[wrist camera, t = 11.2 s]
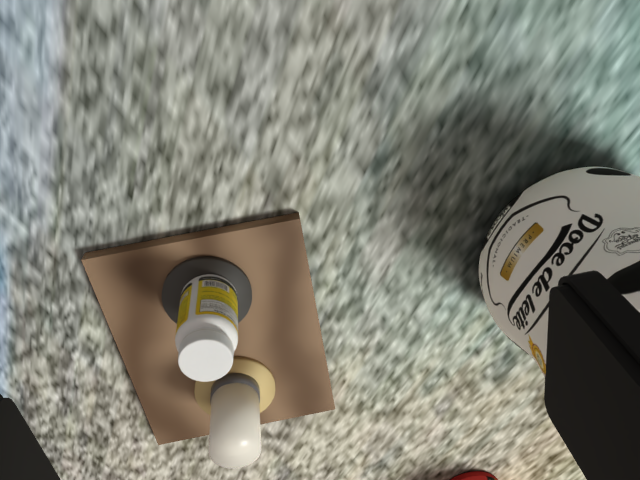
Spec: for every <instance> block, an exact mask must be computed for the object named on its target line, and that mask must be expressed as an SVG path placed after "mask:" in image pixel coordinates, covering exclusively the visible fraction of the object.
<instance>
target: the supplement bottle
mask: <svg viewBox="0 0 640 480" xmlns="http://www.w3.org/2000/svg"><path fill="white" fill-rule="evenodd" d="M175 344H176V348H177V350H178V352H179V353H178V364H179V367H180V369H181V371H182V372H183V373H184V374H185V375H186V376H187V377H189V378H191V379H193V380H196V381H202V382H208V381H214V380H217V379H219V378H221V377H223V376H224V375H226V374H227V373H228V372H229V370H230V369H231V367H232V364H233V356H234V351H235V350H236V347H237V344H238V298H237V292H236V290H235V288H234V286H233V285H232V284H231V283H230V282H229V281H228V280H227V279H225V278H223V277H221V276H218V275H213V274H207V275H201V276H198V277H196V278H194V279H192V280H191V281H189V282H188V283H187V284H186V285H185V287H184V288H183V290H182V293H181V299H180V305H179V313H178V320H177V328H176V335H175Z"/></svg>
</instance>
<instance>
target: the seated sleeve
mask: <svg viewBox="0 0 640 480" xmlns="http://www.w3.org/2000/svg"><path fill="white" fill-rule="evenodd" d="M259 403H260V388H259V385H258V383H257V381H256V380H255V379H254V378H252V377H251V376H249V375H246V374H243V373H230V374H226V375H224V376H223V377H221V378H219V379H217V380H216V381H215V382H214V383H213V385H212V387H211V395H210V404H211V415H210V434H209V456H210V458H211V459H212V461H213V462H214V463H216V464H217V465H219V466H222V467H225V468H241V467H245V466H247V465H250V464H251V463H253V462H254V461H255V460H256V459H257V458H258V457H259V455H260V453H261V430H260V408H259Z"/></svg>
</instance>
